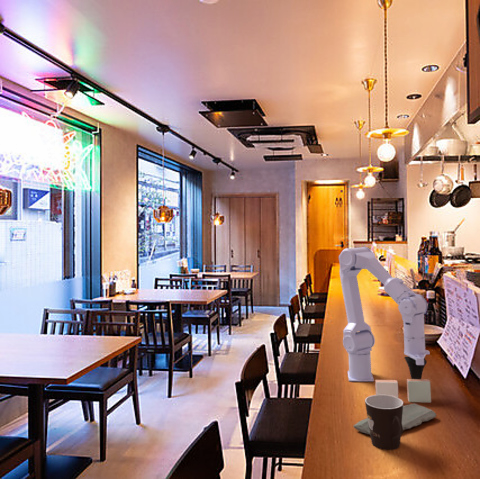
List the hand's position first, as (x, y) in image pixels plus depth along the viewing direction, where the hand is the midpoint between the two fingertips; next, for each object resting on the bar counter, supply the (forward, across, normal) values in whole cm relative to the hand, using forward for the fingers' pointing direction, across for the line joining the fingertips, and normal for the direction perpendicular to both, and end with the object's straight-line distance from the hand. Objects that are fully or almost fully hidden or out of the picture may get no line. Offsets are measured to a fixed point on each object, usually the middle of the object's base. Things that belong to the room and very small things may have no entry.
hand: (416, 382), depth 132 cm
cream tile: (+4, -4, +9) cm, 11 cm away
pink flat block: (+4, -4, 0) cm, 6 cm away
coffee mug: (+4, -32, +13) cm, 34 cm away
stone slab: (+4, -20, +9) cm, 22 cm away
